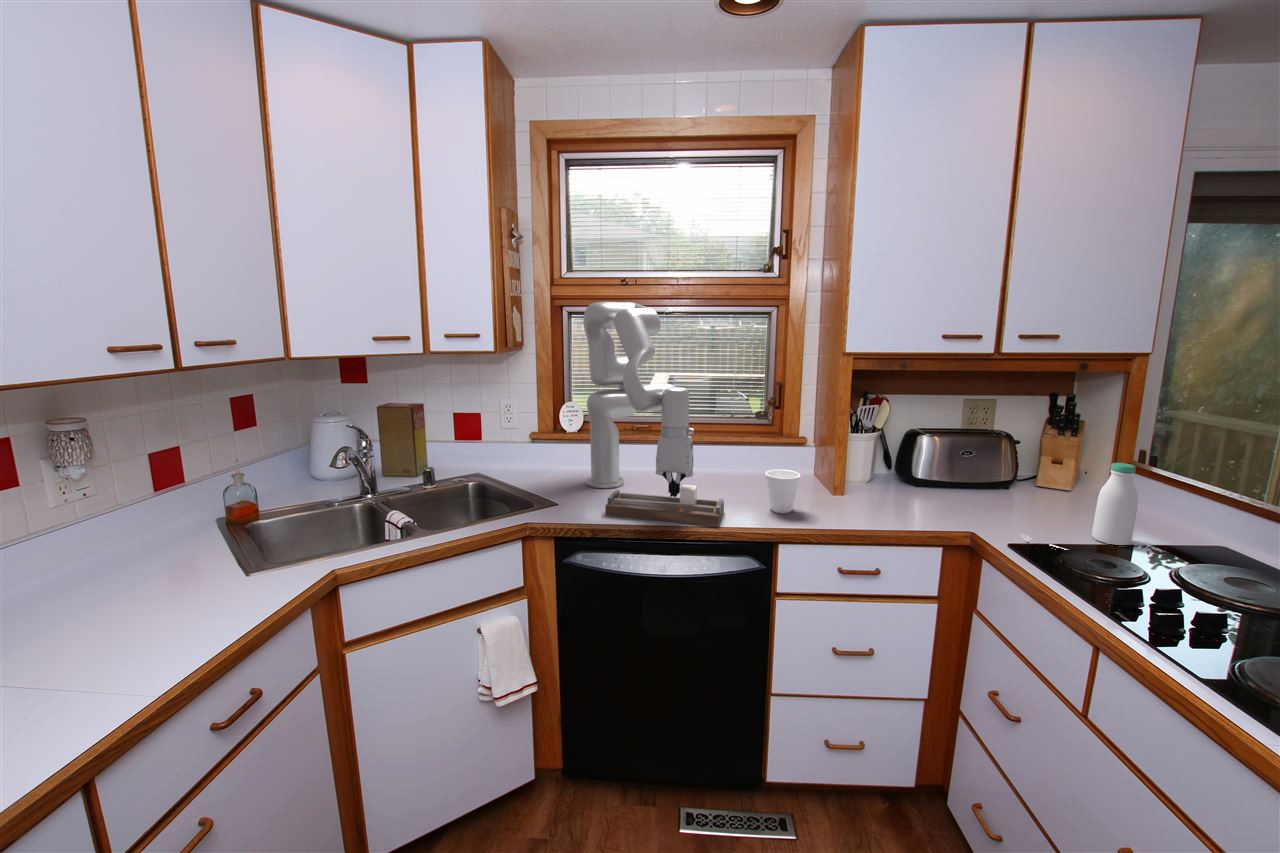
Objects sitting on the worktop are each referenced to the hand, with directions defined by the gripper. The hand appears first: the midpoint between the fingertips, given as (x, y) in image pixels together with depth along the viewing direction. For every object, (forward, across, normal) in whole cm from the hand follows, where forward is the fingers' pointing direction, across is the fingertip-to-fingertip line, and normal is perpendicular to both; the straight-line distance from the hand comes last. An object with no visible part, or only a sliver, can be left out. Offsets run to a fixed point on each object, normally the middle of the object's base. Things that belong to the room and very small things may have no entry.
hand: (674, 495), depth 160 cm
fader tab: (+2, -4, 0) cm, 5 cm away
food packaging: (+6, +102, -17) cm, 103 cm away
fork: (+7, -97, +1) cm, 97 cm away
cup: (+6, -29, -12) cm, 32 cm away
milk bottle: (+6, -110, -10) cm, 111 cm away
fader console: (+6, +2, 0) cm, 6 cm away
